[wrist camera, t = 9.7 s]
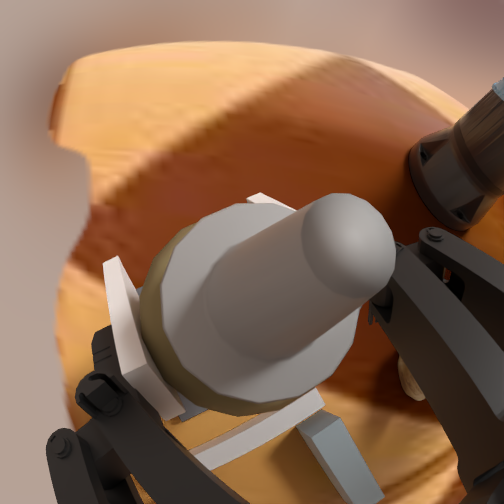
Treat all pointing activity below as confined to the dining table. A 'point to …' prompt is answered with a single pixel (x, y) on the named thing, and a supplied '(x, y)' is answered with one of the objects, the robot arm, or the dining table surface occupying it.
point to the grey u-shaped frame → (316, 437)
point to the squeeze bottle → (263, 300)
